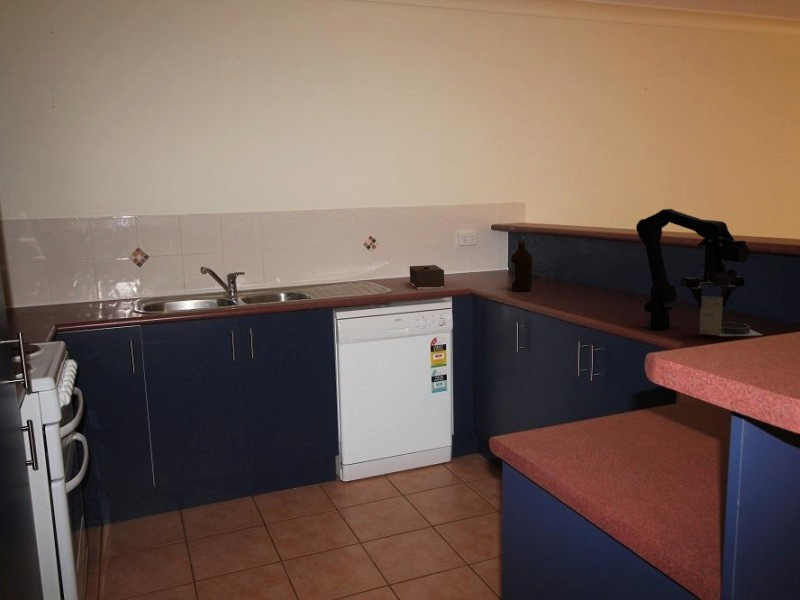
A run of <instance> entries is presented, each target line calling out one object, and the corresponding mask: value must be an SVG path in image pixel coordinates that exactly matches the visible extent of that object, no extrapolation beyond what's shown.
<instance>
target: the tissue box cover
mask: <svg viewBox="0 0 800 600" xmlns="http://www.w3.org/2000/svg"><path fill="white" fill-rule="evenodd" d="M410 282H411V283H413V284H414V285H415V286H416V287H417V288H418V287H441V286H444V287H445V270H444V269H443V268H441V267H439V266H438V265H435V264H431V265H428V264H427V265H410V266H409V283H410Z"/></svg>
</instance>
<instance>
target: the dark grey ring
mask: <svg viewBox="0 0 800 600" xmlns="http://www.w3.org/2000/svg"><path fill="white" fill-rule="evenodd" d="M750 330H751V325H749V324H747V323H741V322H735V321H734V322H731V321H730V322H729V321H726V322H725V321H723V322H722V328H721V333H723V334H733V335H741V334H748V333H750Z"/></svg>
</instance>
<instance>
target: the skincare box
mask: <svg viewBox="0 0 800 600" xmlns="http://www.w3.org/2000/svg"><path fill="white" fill-rule="evenodd" d="M701 297H702V305H701V308H700V310H699V311H700V313H699V314H700V315H699V334H700V335H709V336H711V335H712V336H719V335H720V334H721V328H722V321H723V307H722V306H723V297H721V296H708V295H706V296H705V295H703V296H701Z"/></svg>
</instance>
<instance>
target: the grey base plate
mask: <svg viewBox="0 0 800 600" xmlns="http://www.w3.org/2000/svg"><path fill="white" fill-rule="evenodd" d="M718 336H719V337H741V336H742V337H747V336H763V334H762V333H760V332H757V331H755V330H753V329H750V333H748V334H741V335H733V334H723V333H721V334H720V335H718Z"/></svg>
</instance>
